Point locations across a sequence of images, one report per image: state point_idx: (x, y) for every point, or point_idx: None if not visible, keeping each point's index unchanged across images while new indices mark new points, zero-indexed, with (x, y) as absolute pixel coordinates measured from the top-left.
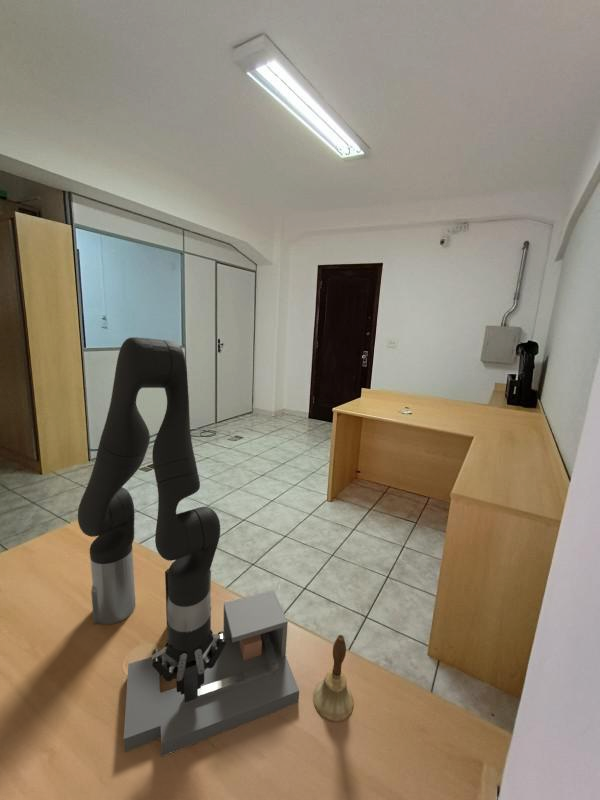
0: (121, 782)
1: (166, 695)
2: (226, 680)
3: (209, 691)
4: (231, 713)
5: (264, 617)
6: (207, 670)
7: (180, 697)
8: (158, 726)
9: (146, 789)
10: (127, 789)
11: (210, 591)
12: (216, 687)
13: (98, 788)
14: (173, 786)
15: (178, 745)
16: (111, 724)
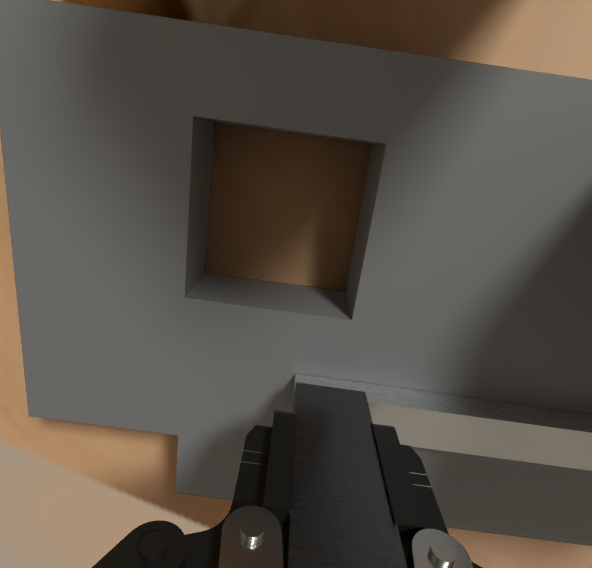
0: (71, 448)
1: (216, 324)
2: (521, 435)
3: (417, 443)
4: (463, 521)
5: None
6: (455, 296)
7: (280, 364)
8: (169, 434)
9: (145, 494)
10: (91, 471)
11: None
12: (457, 442)
13: (3, 432)
14: (220, 520)
15: None
16: (5, 255)
